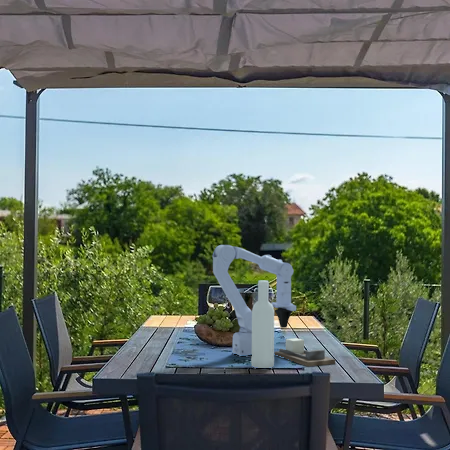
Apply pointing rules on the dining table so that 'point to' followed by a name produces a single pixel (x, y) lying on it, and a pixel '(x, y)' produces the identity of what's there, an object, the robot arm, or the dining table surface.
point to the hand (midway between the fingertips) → (283, 327)
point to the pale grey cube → (295, 345)
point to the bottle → (263, 329)
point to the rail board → (306, 362)
